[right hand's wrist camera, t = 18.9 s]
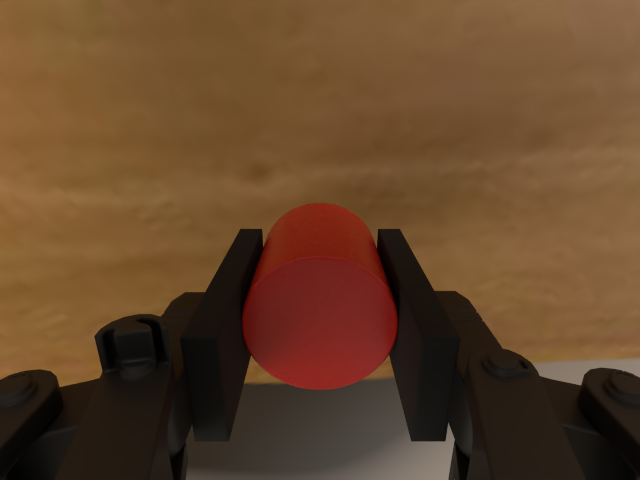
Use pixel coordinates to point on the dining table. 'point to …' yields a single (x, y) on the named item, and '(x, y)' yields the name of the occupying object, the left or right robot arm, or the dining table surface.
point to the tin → (319, 300)
